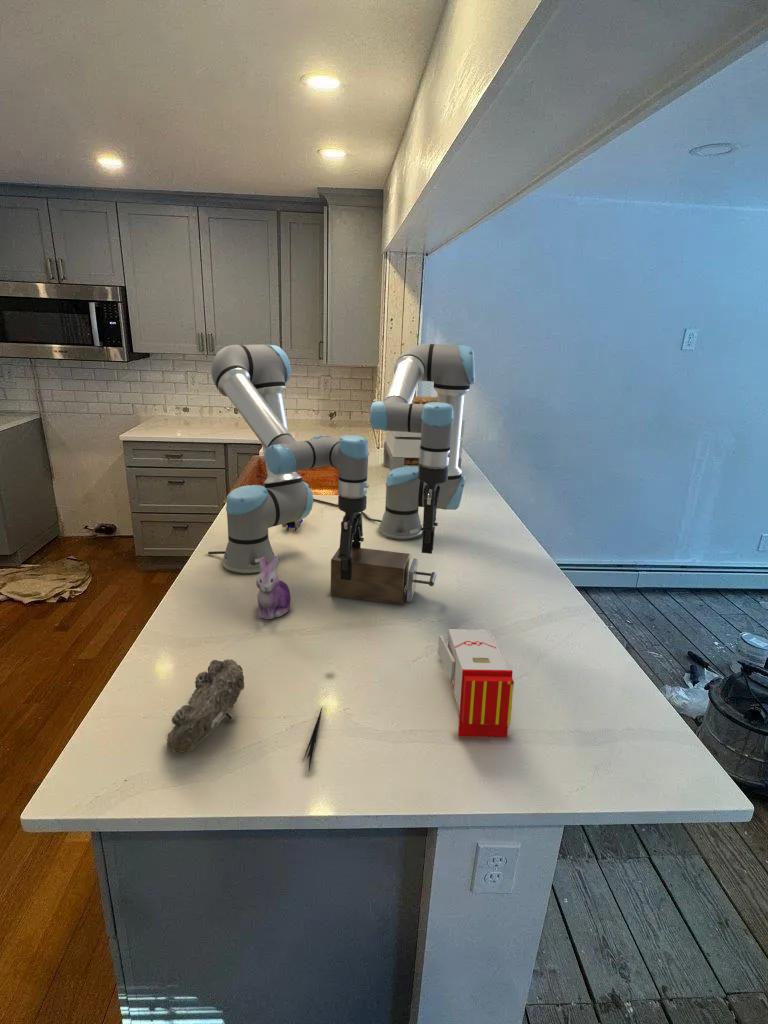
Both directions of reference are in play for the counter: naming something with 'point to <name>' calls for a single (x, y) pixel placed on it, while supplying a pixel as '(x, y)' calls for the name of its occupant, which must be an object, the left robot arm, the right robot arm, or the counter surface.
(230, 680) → the fossil
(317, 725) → the feather
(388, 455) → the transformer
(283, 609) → the figurine
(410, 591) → the drawer
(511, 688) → the toy
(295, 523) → the figurine character
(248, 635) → the counter surface
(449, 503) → the right robot arm
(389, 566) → the cabinet
